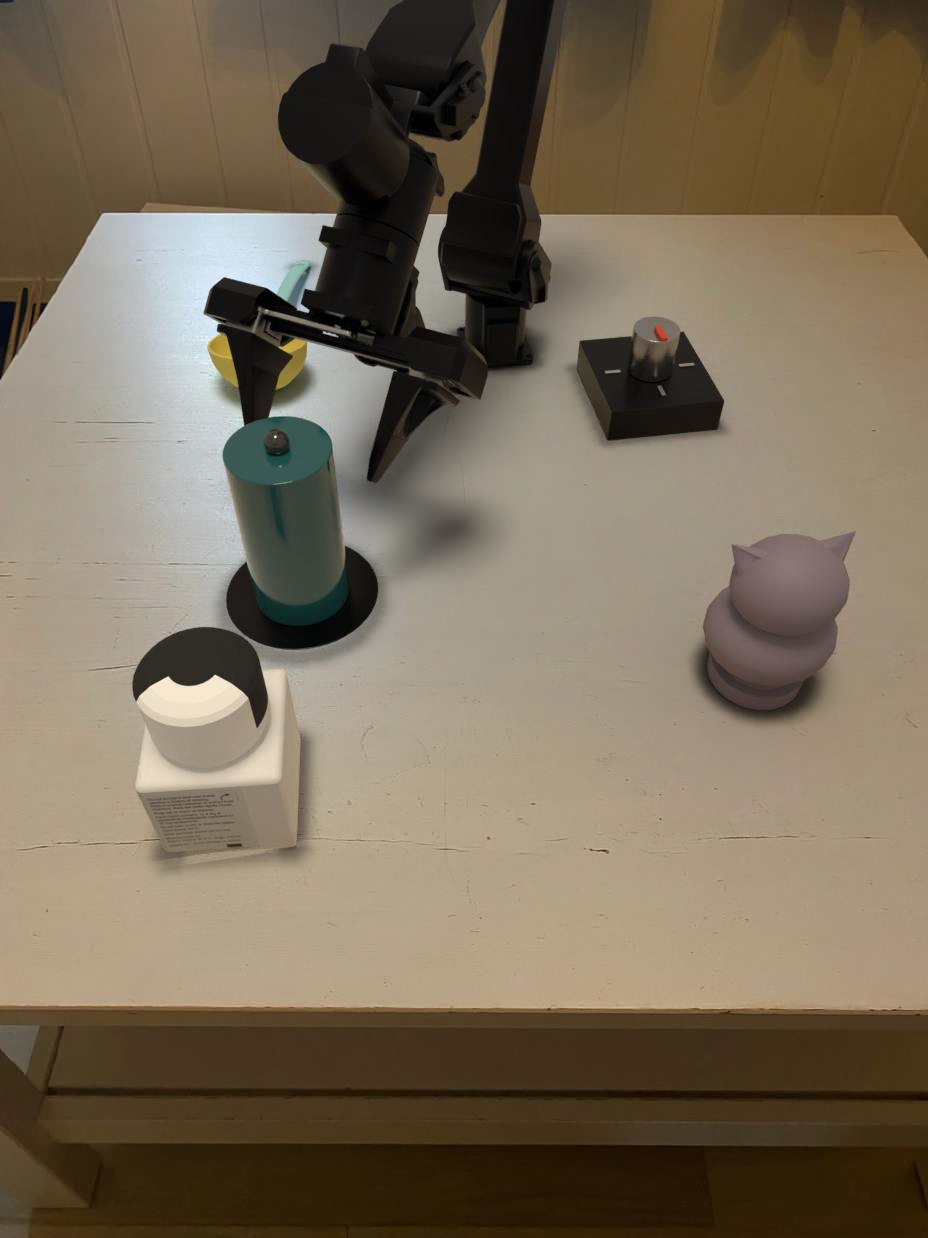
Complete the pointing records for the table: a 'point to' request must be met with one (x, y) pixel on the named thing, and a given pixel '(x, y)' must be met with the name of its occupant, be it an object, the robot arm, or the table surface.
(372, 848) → the table surface
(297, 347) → the ladle
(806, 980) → the table surface
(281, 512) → the teal lidded canister
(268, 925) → the table surface
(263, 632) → the disc
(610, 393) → the panel
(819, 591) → the cat figurine
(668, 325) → the knob
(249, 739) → the container
